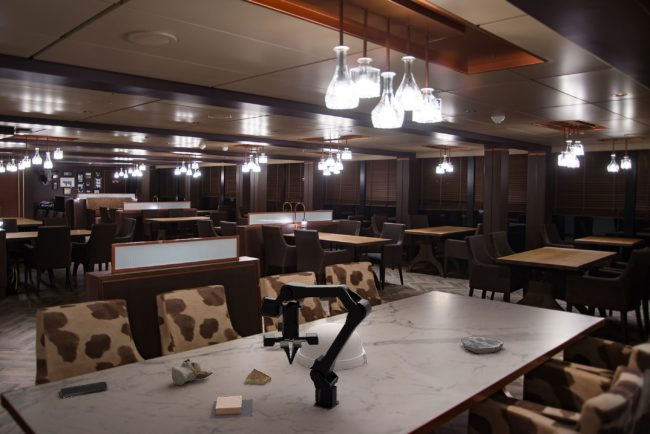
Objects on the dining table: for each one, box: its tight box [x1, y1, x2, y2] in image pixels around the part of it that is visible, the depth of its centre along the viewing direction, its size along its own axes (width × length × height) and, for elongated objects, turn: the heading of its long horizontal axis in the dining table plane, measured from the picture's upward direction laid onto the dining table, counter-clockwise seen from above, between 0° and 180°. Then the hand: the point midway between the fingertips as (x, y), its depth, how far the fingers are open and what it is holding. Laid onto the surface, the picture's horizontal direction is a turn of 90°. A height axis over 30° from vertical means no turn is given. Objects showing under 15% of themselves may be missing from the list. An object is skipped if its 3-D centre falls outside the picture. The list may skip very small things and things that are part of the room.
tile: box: [216, 395, 243, 415], centre depth 164 cm, size 2×9×8 cm
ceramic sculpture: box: [171, 358, 213, 386], centre depth 189 cm, size 11×9×15 cm
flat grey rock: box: [460, 336, 504, 355], centre depth 230 cm, size 20×17×3 cm
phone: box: [59, 381, 108, 398], centre depth 179 cm, size 8×1×15 cm
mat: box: [210, 398, 254, 419], centre depth 164 cm, size 13×13×1 cm
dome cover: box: [295, 322, 368, 371], centre depth 215 cm, size 32×30×14 cm
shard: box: [244, 368, 272, 386], centre depth 191 cm, size 13×9×2 cm
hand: (290, 364), depth 172 cm, fingers closed
